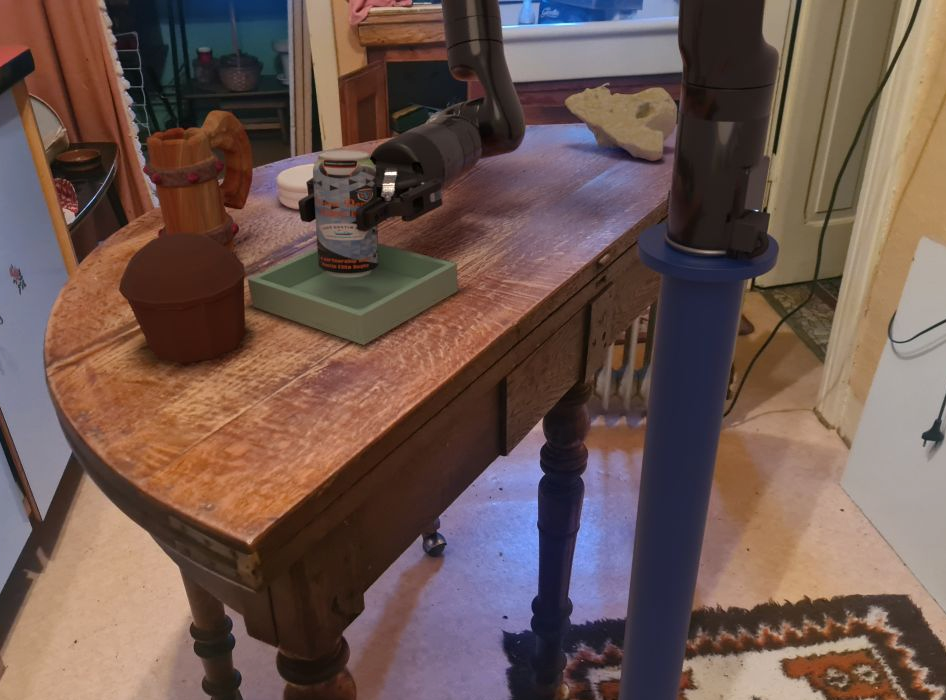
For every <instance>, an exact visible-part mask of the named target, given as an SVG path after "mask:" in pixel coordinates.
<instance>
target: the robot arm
mask: <svg viewBox="0 0 946 700" xmlns="http://www.w3.org/2000/svg"><path fill="white" fill-rule="evenodd" d="M765 3H766V0H679V3H678V4H679V5H678V24H677V44H678V45H677V46H678V50H679V54H680V57H681V62H682V73H681V86H680V94H679V104H678V112H677V122H676V133H675V142H674V143H675V144H674V154H673V162H672V171H671V173H672V174H671V180H670V189H668V191H667V192H668V193H667V202H668V211H667V219H666V222H667V226H666V228H667V230H666V232H665V243H666V245H667V246H668V247H669V248H671V249H673V250H675V251H677V252H679V253H682V254H686V255H690V256H695V257H703V258H730V259H737V258H738V257H739V256H741V255H742V254H743V253H744V252H746V256H747V258H749V259H751V258H754V257H757V256H760V255H762V254H763V253H765V252H766V250H767V249H768V247H769V239H768V237H767V233H768V232H769V225H770V219H771V213H769V212H765V211H763V206H764V200H765V194H766V186H767V181H768V175H769V169H770V164H771V157H770V156H769V155H767V154H765V153H766V148H767V147H766V146H767V141H768V134H769V128H770V121H771V115H772V110H773V103H774V98H775V90H776V84H777V78H778V73H779V65H780V53H779V51H778V49H777V48H776V47H775V46H773V45H771V44H769V43H768V42H767V41H766V39H765V36H764V31H763V28H764V27H763V26H764V16H765V15H764V14H765V5H766V4H765ZM440 4H441V12H442V21H443V30H444V31H443V32H444V39H445V49H446V58H447V65H448V70H449V73H450V75H451V76H452V77H453V78H454V79H455V80H458V81H461V82H466V83H467V82H469V83H471V82H473V83H474V82H475V83H476V82H477V83H479V82H480V84H481V86H482V87H483V91H484V96H481V97H477V98H474V99H470V100H465V101H462V102H459V103H455V104H453V105H450V106H449V107H447V108H445V109H443V110H442V111H441V112H440V113H439V114H438V116H437V117H436V118H435V119H432V120H430V121H429V122H427V123H425V124H422V125H418V126H415V127H413V128H410V129H408V130H406V131H404V132H403V133H400V134H399V135H396V136H394V137H392V138H391V139H389V140H387V141H384V142H383V143H381V144H379V145H377V147H376V148H375V149H374V150H373V151H372V152H371V154H370V160H371V161H372V162H373V164H374V166H375V168H376V189H377V197H376V198H374V199H373V200H372V201H370V202H368V203H365V204H364V205H362V206H360V207H359V208H357V210H356V222H357V229H358V230H359V231H364V232H366V231H368V230H369V229H371V228H373V227H375V226H377V227H378V225H380V224H381V223H383V222H392V221H395V220H396V218H397V217H401V221H402V222H405V223H406V222H407V223H408V222H412V221H414V220H417V219H418V218H420V217H422V216H425V215H426V214H428V213H430V212H432V211H434V210H436V209H438V208H440V207H442V206H443V192H445V191H446V190H448V189H449V188H450V187H451V186H452V185H453V184H454V182H456V181H458V180H459V179H461V178H462V177H464V176H465V175H467V174H468V173H469V172H471V171H472V170H473V169H474V168H475V167H476V165H477V164H478V162H479V161H480V160H482V159H483V160H484V159H487V158H492V157H497V156H502V155H507V154H511V153H513V152H515V151H517V150H518V149H519V147H520V146H521V145H522V143H523V141H524V139H525V135H526V129H527V128H526V127H527V124H526V123H527V122H526V115H525V112H524V109H523V106H522V104H521V101H520V98H519V96H518V93H517V91H516V88H515V85H514V82H513V79H512V76H511V72H510V70H509V66H508V63H507V59H506V55H505V47H504V46H505V44H504V33H503V26H502V25H503V24H502V14H501V8H500V2H499V0H440ZM306 183H307V190H308V196H306V197H304V198H302V199H301V200H299V202H298V205H299V209H298V210H299V216H300V217H299V218H300V220H301V221H302V222H305V223H311V222H313V221H316V216H315V199H314V182H313V178H312V179H310V180H309V181H307V182H306ZM758 246H759V247H758ZM757 247H758V248H757Z"/></svg>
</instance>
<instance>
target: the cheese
mask: <svg viewBox="0 0 946 700" xmlns="http://www.w3.org/2000/svg"><path fill="white" fill-rule="evenodd" d="M605 86H610V82H606V83H604V84H602V85H600V86H597V87H595V88H589V87H586V88H585V89H584V91H582V92H579V93H575V94H572V95H570V96H568V97H567V98H566V99H564V105H565V106H566V108H567V109H568V110H569V112H570V113H571V114H573V115H575V117H577V118H578V119H579V120H581V121H582V122H583V123H584V124H585V125H586V126H587V128H588V130H589V131H590V132H591V133H592V134H593V137H594V138H595V141H596V143H597V145H598V147H599V148H601V149H603V148H606V147H610V149H616V148H622V149H623V150H625V151H627V152H628V153H629V154H630V155H631V156H632V157H633V158H635V159H637V158H639V159H645V160H647V161H650V162H654V161H658V160H660V159H662V157H663V154H664V147H665V141H666V140H668V139H669V137H670V136H671V135H672V134H673V133H674V131H675V128H676V127H677V121H678V106H677V104H676V102H675V101H674V100H673V98H672V96H671V94H670V93H668V92H667V91H666V90H665V89H664V88H663V87H649V88H646V89H644V90H642V91H640V92H637V93H633V94H631V93H630V94H629V93H628V94H625V93H623V94H621V93H618V92H616V93H614V94H611V91H610V89H609V88H607V87H605Z"/></svg>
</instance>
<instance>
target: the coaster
mask: <svg viewBox="0 0 946 700" xmlns="http://www.w3.org/2000/svg"><path fill="white" fill-rule="evenodd" d="M314 165H315V163H307V164H301V165H295V166H292V167H289V168H287V169H284V170H282V171H281V172H279V173H278V175H277V176H276V178H275V179H276V180H275V182H276V184H277V192H278V200H279V202H280V203H281V204H282V205H283V206H284V207H287V208H289V209H293V210H299V205H298V202H299V200H301V199H302V198H304V197H306V196H308V190H307V183H306V182H307V181H309V180H310V179H312V178H313V167H314Z"/></svg>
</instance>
